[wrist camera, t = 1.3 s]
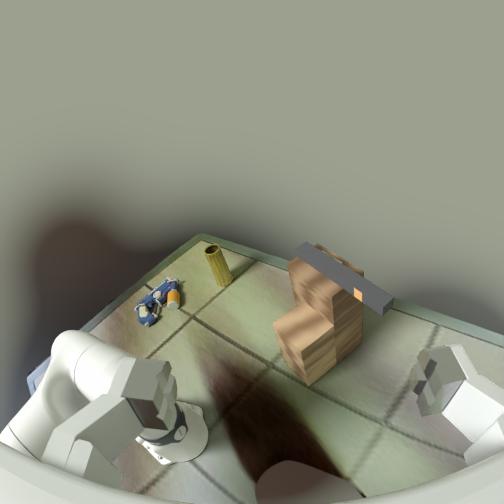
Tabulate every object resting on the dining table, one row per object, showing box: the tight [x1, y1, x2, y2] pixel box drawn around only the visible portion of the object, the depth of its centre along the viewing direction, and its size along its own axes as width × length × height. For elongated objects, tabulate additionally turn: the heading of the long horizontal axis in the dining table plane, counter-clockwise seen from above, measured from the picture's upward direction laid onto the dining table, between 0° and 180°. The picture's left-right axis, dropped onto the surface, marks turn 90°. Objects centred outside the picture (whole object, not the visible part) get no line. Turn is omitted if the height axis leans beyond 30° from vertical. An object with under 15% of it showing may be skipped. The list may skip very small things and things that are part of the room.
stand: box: [272, 244, 364, 386], centre depth 68 cm, size 14×18×26 cm
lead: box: [296, 242, 394, 316], centre depth 57 cm, size 24×3×2 cm, turn 33°
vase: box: [204, 244, 233, 286], centre depth 102 cm, size 6×6×14 cm
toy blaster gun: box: [134, 277, 180, 326], centre depth 103 cm, size 21×4×15 cm
